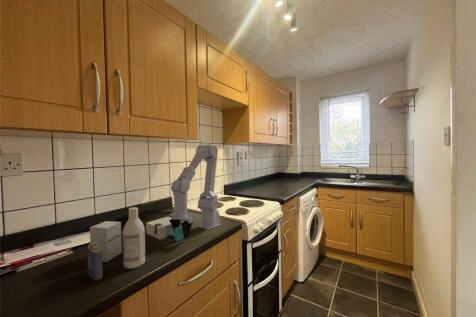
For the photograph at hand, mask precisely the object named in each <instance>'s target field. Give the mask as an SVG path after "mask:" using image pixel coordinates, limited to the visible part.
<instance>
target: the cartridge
mask: <svg viewBox="0 0 476 317" xmlns="http://www.w3.org/2000/svg"><path fill="white" fill-rule="evenodd" d="M169 236H171V237H173V238H174V241H175V242H179V241H182V240H184V239H186V238H184V237H183V230H182V227H181V226H180V227H177V228H175V234H174V231H173V227H172V225H171V226H168V227H166V237H169Z"/></svg>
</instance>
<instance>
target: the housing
mask: <svg viewBox="0 0 476 317" xmlns="http://www.w3.org/2000/svg"><path fill="white" fill-rule="evenodd" d="M170 219H172V218H170V216H165V217H161V218H158V219H155V220H152V221H151V220H150V221H148V222H146V223H145V224H146V225H145V229H146V231H145V235H148V236H151V237H153V238H155V239H158V240H162V239H165V238H167V236H166V227H168V226H171V223H170V222H169V220H170ZM158 223H160V224H161V226H158V227H157V234H155V224H158ZM180 223H182V221H181V222H180ZM180 226H181V224H180Z"/></svg>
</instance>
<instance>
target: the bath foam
mask: <svg viewBox="0 0 476 317" xmlns="http://www.w3.org/2000/svg"><path fill="white" fill-rule="evenodd" d="M145 235H146V231H145V226H144V223H143V222H142V220H141V219H140V217H139V208H138V207H136V206H132V207H129V208H128V220H127V221H126V223H125V225H124V226H123V229H122V254H123V255H122V260H123V267H124V268H125V269H131V270H132V269H136V268H140V266H141V267H142V266H143V265H144V264H145V262H146V236H145Z"/></svg>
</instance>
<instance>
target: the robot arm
mask: <svg viewBox="0 0 476 317" xmlns="http://www.w3.org/2000/svg"><path fill="white" fill-rule="evenodd" d="M218 151H219V149H218V147H217V146H216V144H214V143H212V144H198V146H197V147H196V149H195V154H194V155H193V158H192V160H191V161H190V163H189V165H188V166H185V167H184V168H183V169H182V171H181V173H180V174H179V175H178V177H177V179H175V180H174V181H173V182H172V183H171V186H170V190H171V191H172V195H173V212H171V213H169V217H170V218H172V219H170V220H169V222H170V223H171V225H172V227H173V231H174V234H175V228H177V227H180V224H181V227H182V230H183V237H184V238H185V239H187V238H189V235H190V231H191V228H192V225H193V224H194V218H193V217H191V216H190V215H189V214H188V192H189V190H190V188H191V182H192V180H193V178H194V176H196V169H197V168H198V166H199V165H200V164H201V162H202V161H205V162H206V167H205V169H206V170H205V177H204V187H203V192H202V193H200V194H199V198H198V202H197V205H198V206H197V207H198V208H199V210H200V211H201V213H200V214H201V224H200V225H197V227H198V228H201V229H204V230H208V231H209V230H212V229H213V228H216V227H219V226H220V225H221V223H220V210H219V209H218V206H219V202H218V201H219V198H218V195H217V194H216V193H215V183H216V182H215V181H216V172H217V162H218V155H219V154H218ZM180 222H181V223H180Z"/></svg>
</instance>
